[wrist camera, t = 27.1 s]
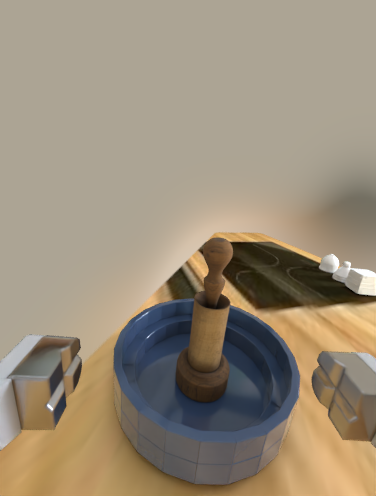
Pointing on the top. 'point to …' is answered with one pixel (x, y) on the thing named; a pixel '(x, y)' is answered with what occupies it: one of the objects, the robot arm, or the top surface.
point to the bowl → (204, 413)
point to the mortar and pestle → (207, 332)
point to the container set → (350, 275)
